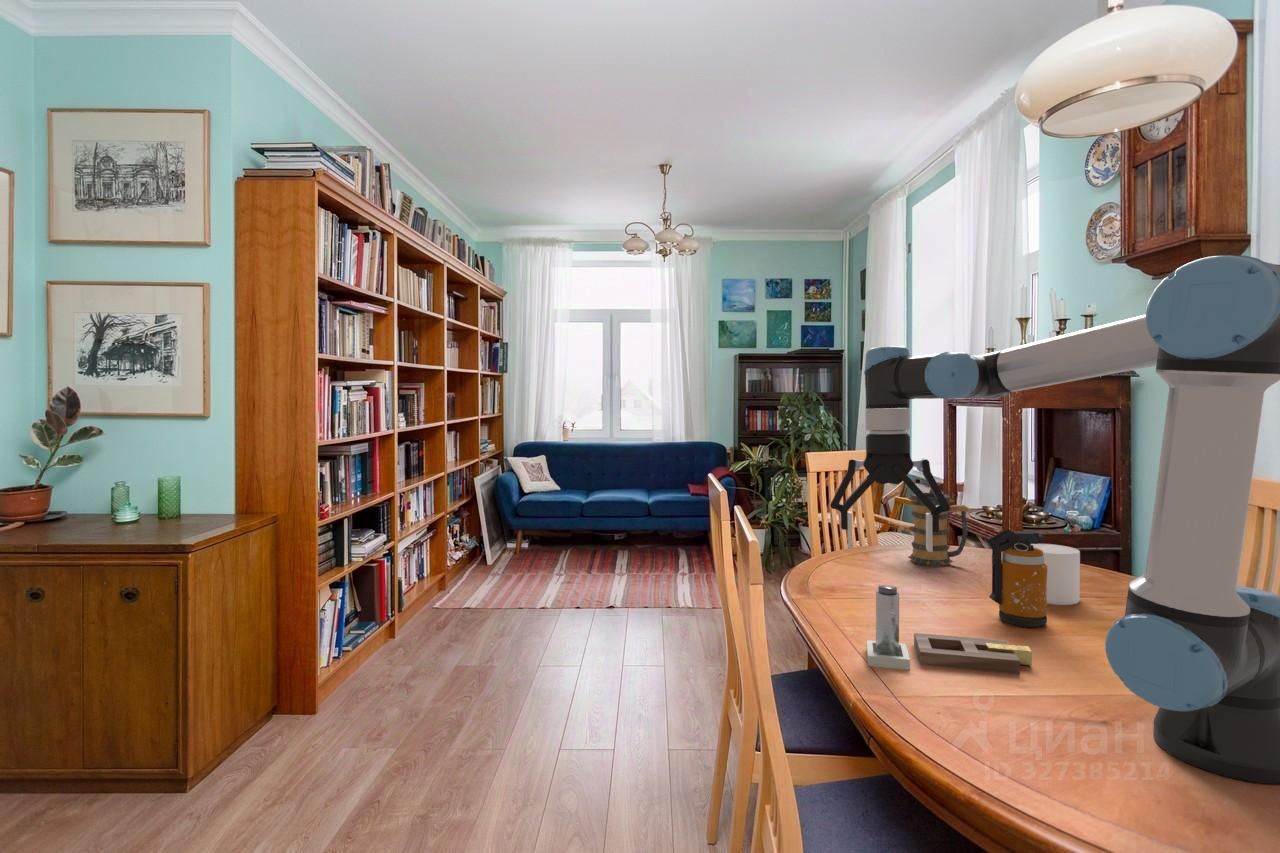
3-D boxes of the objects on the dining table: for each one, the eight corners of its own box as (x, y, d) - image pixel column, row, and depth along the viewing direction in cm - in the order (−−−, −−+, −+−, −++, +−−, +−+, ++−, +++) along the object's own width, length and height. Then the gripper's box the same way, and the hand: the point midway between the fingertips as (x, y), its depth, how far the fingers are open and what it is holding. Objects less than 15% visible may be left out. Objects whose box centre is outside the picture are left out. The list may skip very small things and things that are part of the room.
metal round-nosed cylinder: (899, 662, 119) (900, 591, 119) (876, 660, 121) (876, 589, 120) (897, 654, 123) (898, 585, 123) (875, 652, 124) (875, 584, 124)
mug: (909, 555, 205) (909, 491, 204) (971, 561, 196) (972, 494, 195) (903, 564, 193) (904, 496, 193) (969, 571, 185) (970, 500, 184)
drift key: (1031, 665, 118) (1032, 651, 117) (988, 661, 120) (988, 647, 119) (1028, 660, 120) (1028, 646, 120) (985, 656, 122) (985, 642, 122)
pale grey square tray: (910, 673, 117) (910, 659, 117) (868, 669, 119) (868, 655, 119) (905, 656, 125) (905, 643, 125) (866, 653, 127) (866, 640, 127)
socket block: (1019, 677, 115) (1019, 660, 115) (920, 668, 119) (920, 651, 119) (1005, 656, 124) (1005, 640, 124) (914, 648, 129) (914, 632, 129)
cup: (1031, 603, 156) (1031, 553, 155) (1016, 589, 167) (1016, 542, 167) (1087, 606, 153) (1088, 555, 153) (1068, 592, 164) (1068, 544, 164)
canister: (1053, 630, 138) (1055, 534, 137) (996, 627, 140) (996, 533, 139) (1037, 616, 147) (1038, 526, 146) (983, 613, 149) (983, 525, 148)
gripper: (959, 431, 120) (960, 547, 121) (817, 432, 127) (818, 542, 128) (966, 432, 113) (967, 556, 114) (816, 434, 120) (817, 550, 121)
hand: (888, 548), depth 121 cm, fingers open, 13 cm apart
